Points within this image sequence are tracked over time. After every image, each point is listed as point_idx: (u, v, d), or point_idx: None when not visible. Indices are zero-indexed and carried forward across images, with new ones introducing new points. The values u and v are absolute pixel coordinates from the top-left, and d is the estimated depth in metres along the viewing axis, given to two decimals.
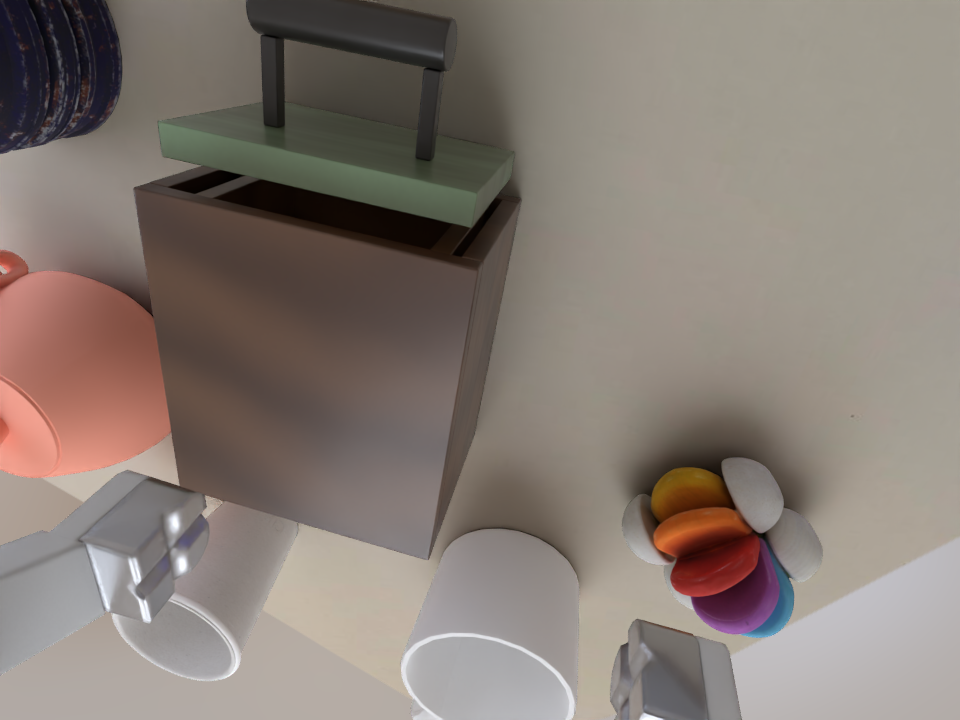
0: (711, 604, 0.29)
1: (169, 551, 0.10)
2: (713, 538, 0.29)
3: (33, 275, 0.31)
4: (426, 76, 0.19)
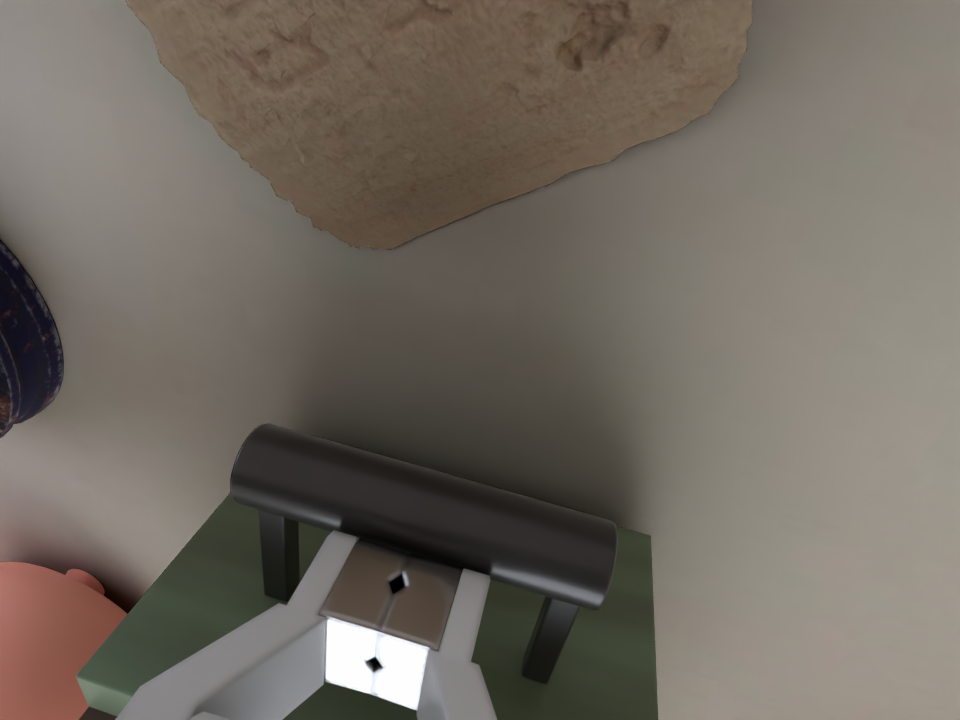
0: None
1: None
2: None
3: None
4: (556, 603, 0.11)
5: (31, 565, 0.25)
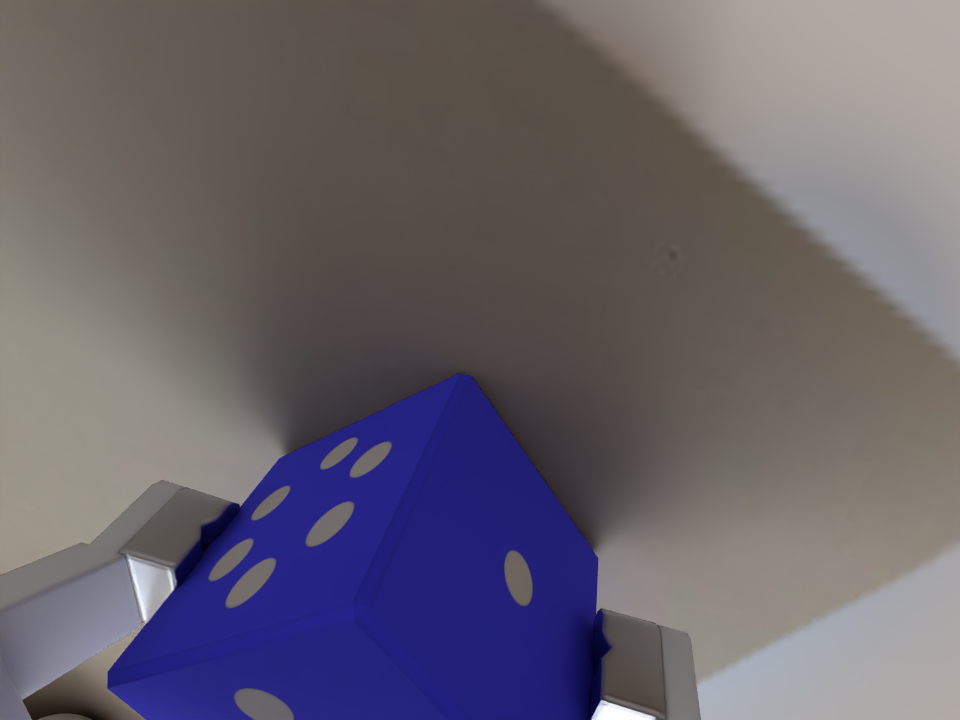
0: None
1: None
2: None
3: None
4: None
5: None
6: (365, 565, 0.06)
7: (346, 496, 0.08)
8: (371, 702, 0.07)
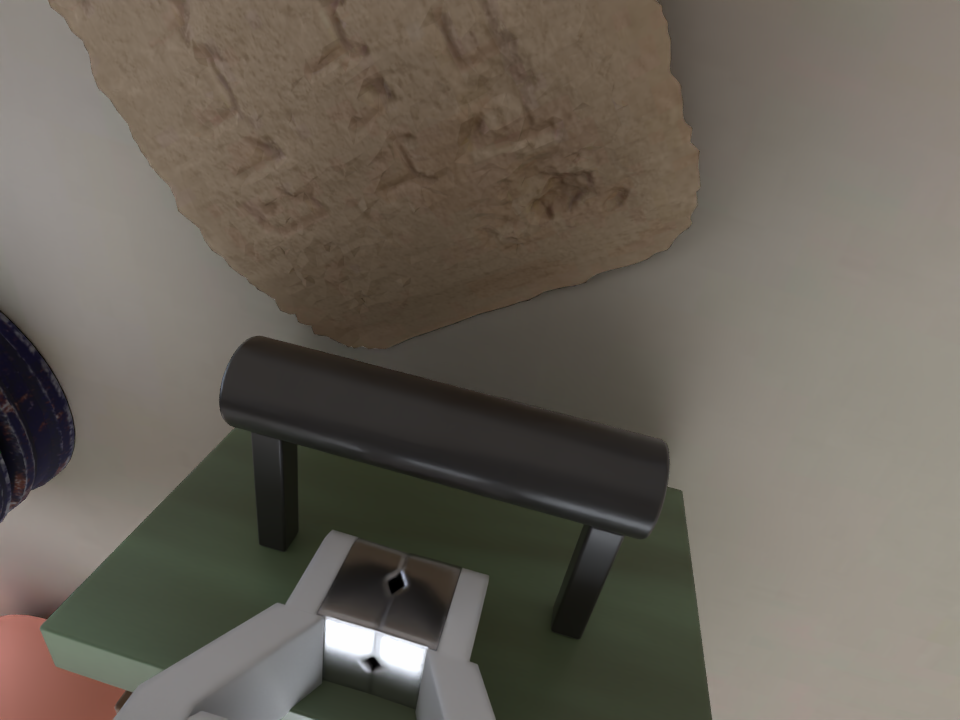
0: None
1: None
2: None
3: None
4: (596, 537, 0.09)
5: (37, 618, 0.26)
6: None
7: None
8: None
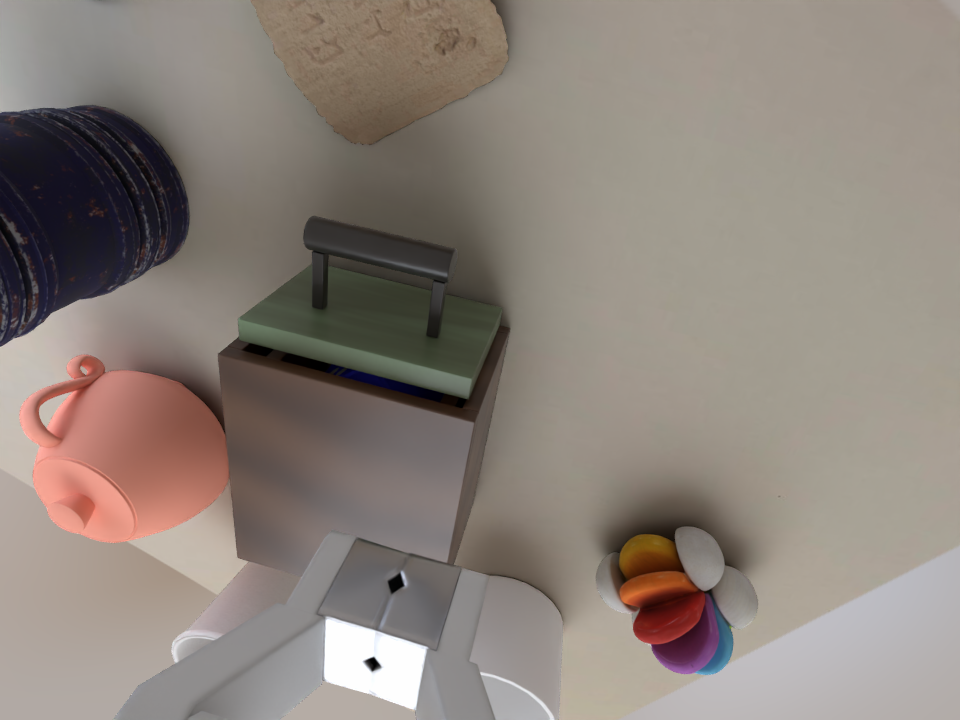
0: (665, 648, 0.36)
1: None
2: (667, 595, 0.36)
3: (110, 376, 0.38)
4: (435, 285, 0.26)
5: None
6: None
7: None
8: None
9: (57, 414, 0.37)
